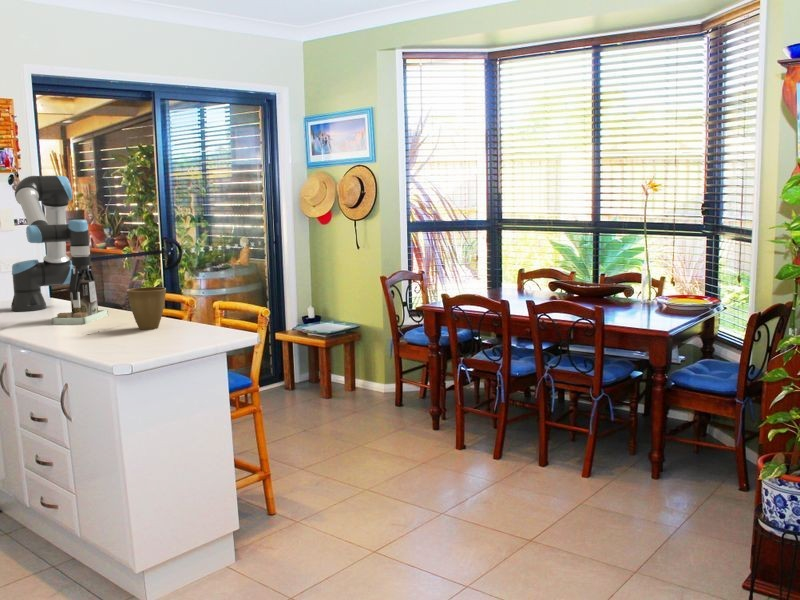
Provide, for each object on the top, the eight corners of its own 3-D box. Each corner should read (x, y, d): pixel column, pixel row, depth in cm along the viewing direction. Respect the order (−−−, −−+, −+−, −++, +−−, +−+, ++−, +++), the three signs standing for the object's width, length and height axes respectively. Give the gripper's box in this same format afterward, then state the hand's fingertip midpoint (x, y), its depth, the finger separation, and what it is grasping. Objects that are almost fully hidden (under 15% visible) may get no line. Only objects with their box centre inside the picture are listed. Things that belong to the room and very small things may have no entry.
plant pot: (156, 331, 297) (154, 291, 295) (122, 331, 300) (119, 291, 298) (175, 325, 311) (172, 286, 309) (142, 324, 314) (139, 286, 312)
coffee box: (99, 317, 330) (96, 280, 328) (92, 319, 324) (89, 281, 322) (79, 317, 331) (76, 280, 329) (71, 319, 325) (68, 282, 323)
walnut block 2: (80, 321, 318) (79, 312, 318) (88, 322, 317) (87, 312, 317) (73, 323, 315) (72, 313, 314) (81, 323, 313) (80, 314, 313)
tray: (77, 318, 335) (77, 310, 334) (108, 317, 334) (108, 309, 334) (52, 326, 313) (51, 318, 313) (85, 326, 312) (84, 318, 312)
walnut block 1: (61, 322, 318) (60, 312, 318) (71, 321, 319) (70, 312, 318) (58, 323, 314) (57, 314, 314) (68, 323, 315) (67, 314, 314)
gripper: (85, 253, 336) (89, 301, 339) (57, 258, 312) (61, 309, 315) (102, 253, 336) (105, 300, 339) (75, 258, 311) (79, 309, 314)
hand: (84, 305), depth 327 cm, fingers open, 13 cm apart
